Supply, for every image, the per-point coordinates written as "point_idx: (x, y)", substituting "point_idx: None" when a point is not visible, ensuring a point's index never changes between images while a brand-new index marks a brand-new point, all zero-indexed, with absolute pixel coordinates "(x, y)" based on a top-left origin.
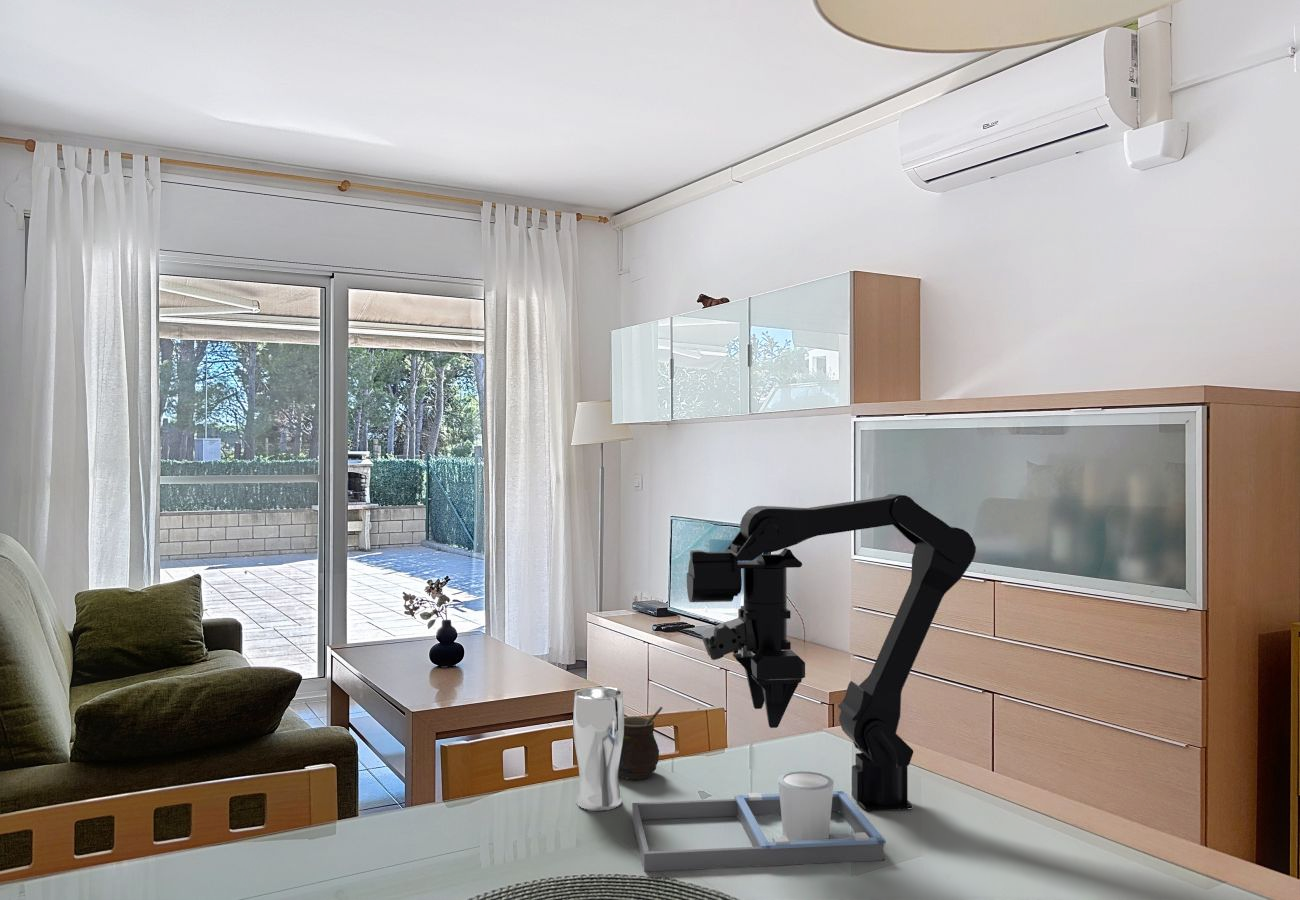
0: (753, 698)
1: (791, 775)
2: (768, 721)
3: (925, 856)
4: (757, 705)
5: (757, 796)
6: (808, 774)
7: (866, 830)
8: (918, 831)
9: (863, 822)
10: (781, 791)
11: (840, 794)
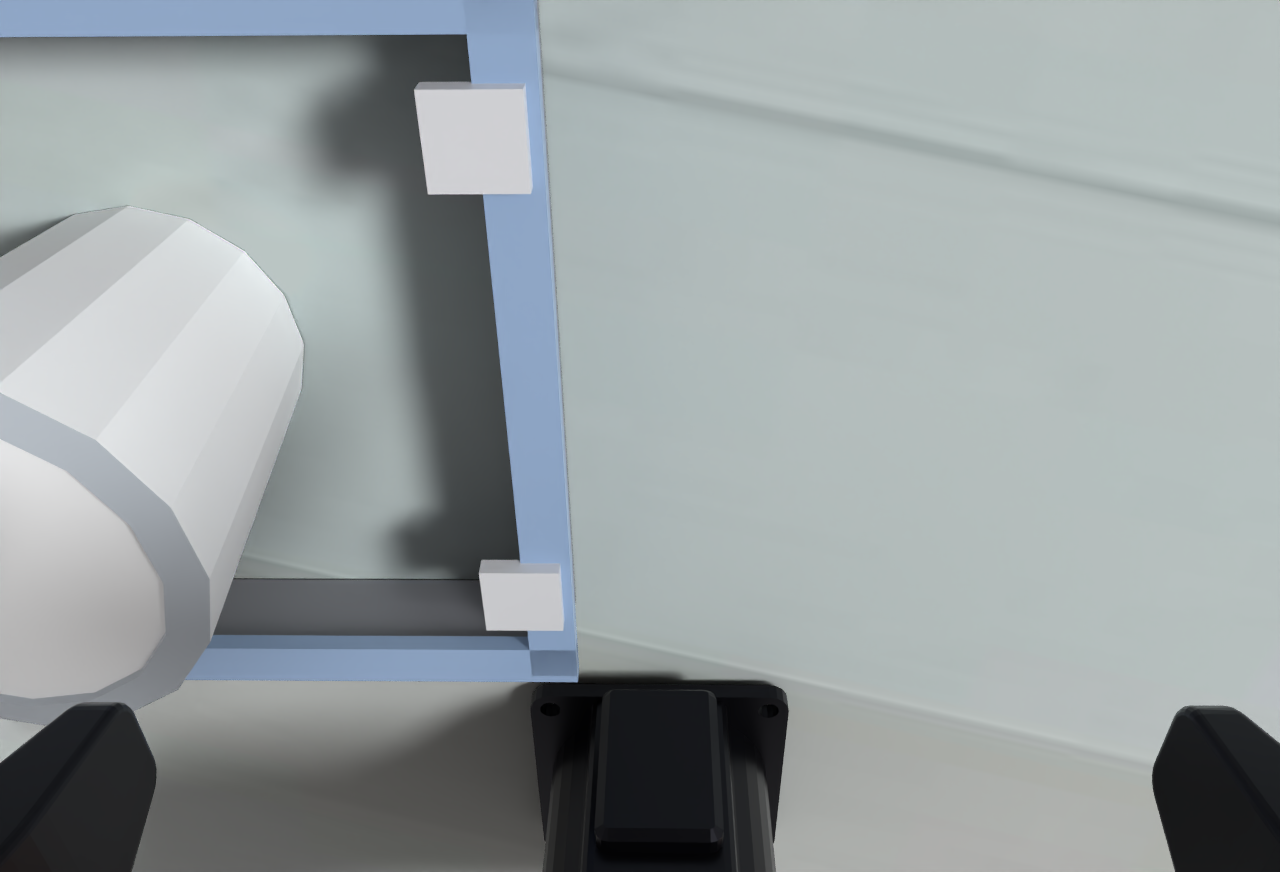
0: (1276, 843)
1: (82, 501)
2: (21, 763)
3: (18, 737)
4: (1187, 776)
5: (441, 158)
6: (134, 617)
7: None
8: (300, 785)
9: None
10: None
11: (522, 656)
